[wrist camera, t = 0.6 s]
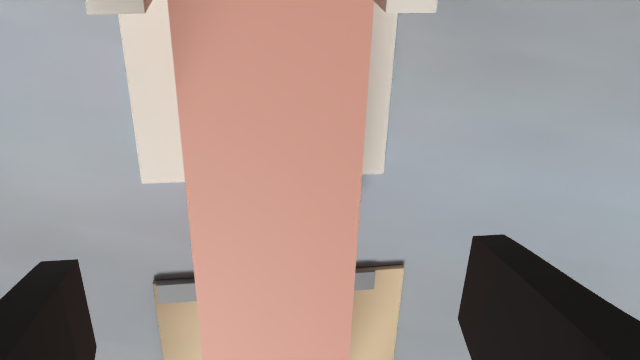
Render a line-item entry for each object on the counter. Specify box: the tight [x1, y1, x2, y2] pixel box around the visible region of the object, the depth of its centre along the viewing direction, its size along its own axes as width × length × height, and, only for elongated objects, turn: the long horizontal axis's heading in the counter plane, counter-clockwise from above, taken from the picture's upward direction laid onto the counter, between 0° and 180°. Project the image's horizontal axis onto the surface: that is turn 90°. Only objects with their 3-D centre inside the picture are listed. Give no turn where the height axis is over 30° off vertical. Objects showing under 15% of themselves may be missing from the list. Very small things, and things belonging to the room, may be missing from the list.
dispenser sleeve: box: [85, 0, 438, 304], centre depth 15 cm, size 8×19×4 cm, turn 178°
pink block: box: [167, 0, 374, 360], centre depth 16 cm, size 4×11×5 cm, turn 178°
